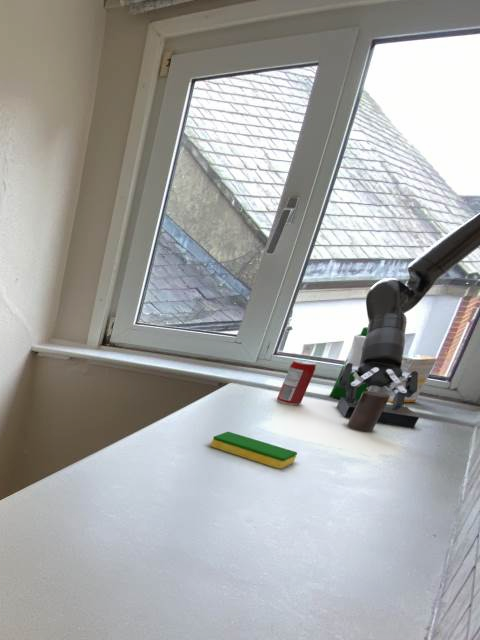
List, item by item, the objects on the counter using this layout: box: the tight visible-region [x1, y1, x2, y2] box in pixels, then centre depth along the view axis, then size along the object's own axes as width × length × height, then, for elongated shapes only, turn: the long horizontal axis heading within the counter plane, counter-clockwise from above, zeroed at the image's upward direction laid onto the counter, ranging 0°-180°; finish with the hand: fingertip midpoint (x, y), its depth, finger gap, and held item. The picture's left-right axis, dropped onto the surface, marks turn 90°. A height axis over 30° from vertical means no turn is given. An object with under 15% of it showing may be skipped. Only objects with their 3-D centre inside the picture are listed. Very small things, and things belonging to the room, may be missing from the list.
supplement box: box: [387, 354, 438, 403], centre depth 160 cm, size 8×5×13 cm, turn 100°
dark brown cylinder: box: [346, 391, 390, 433], centre depth 136 cm, size 5×5×9 cm
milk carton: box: [329, 326, 370, 400], centre depth 158 cm, size 9×9×20 cm
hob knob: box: [368, 386, 391, 395], centre depth 145 cm, size 4×4×6 cm
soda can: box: [276, 359, 317, 406], centre depth 154 cm, size 6×6×12 cm
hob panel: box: [336, 397, 420, 429], centre depth 146 cm, size 14×10×3 cm
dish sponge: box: [210, 431, 298, 470], centre depth 119 cm, size 7×14×2 cm, turn 34°
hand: (373, 405), depth 134 cm, fingers open, 8 cm apart
